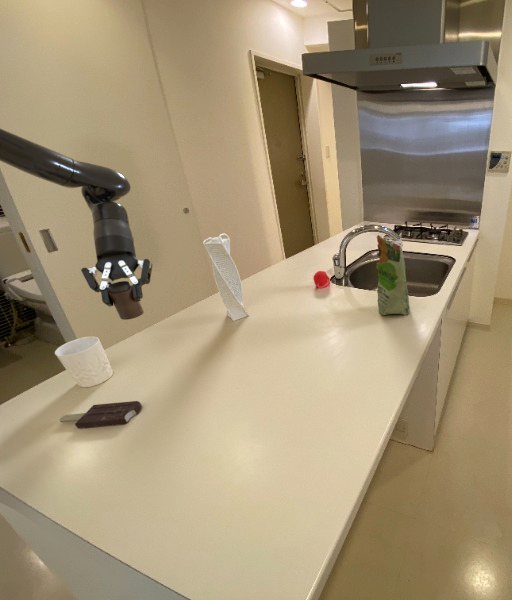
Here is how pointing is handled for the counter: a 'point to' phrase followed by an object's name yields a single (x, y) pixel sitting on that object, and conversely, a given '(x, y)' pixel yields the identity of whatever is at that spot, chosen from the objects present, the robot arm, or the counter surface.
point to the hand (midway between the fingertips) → (123, 302)
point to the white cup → (85, 361)
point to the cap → (321, 280)
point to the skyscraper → (226, 276)
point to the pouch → (391, 279)
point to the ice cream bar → (105, 415)
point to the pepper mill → (125, 300)
